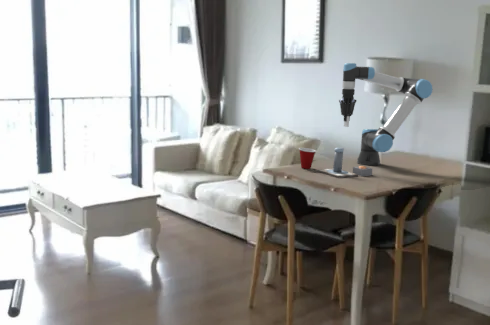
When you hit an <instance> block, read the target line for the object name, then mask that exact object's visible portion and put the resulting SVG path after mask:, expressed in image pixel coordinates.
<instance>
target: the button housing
mask: <svg viewBox="0 0 490 325" xmlns="http://www.w3.org/2000/svg"><path fill="white" fill-rule="evenodd" d="M365 167H366V169H361V168H359V166H353V167H352V173H354V174H357V175H358V177H359V176H360V177H368V176H372V175H373V168H371V167H367V166H365Z"/></svg>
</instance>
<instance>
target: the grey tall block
mask: <svg viewBox="0 0 490 325" xmlns="http://www.w3.org/2000/svg"><path fill="white" fill-rule="evenodd" d="M333 151H334V156H333V165H332V166H333V168H332V169H333V172H338V173H340V172H342V170H343V169H342V168H343V157H344V147H334V150H333Z"/></svg>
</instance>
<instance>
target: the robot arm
mask: <svg viewBox="0 0 490 325" xmlns="http://www.w3.org/2000/svg"><path fill="white" fill-rule="evenodd" d="M356 80H361V81H364V82H368V83H372V84H375V85H378V86H382V87H386V88H389V89H392V90H393V89H394V90H395V91H396V92H399V93H401V94H403V95H405V97H404V98H403V99H402V100H401V101H400V103H399V105H398V106H397V107H396V109H395V110H394V111H393V113H392V114H391V115H390V116H389V118H388V119H387V121H386V122H385V123H384V124H383V126H379V127H378V128H375V129H373V128H369V129H368V128H365V129H363V130H362V132H361V141H360V142H361V144H360V152H359V154H358V157H357V159H356V163H357V164H359V165H362V166H380V165H381V159H380V154H379V153H386V152H388V151H390V150H391V148H392V147H393V144H394V139H395V137H396V136H395V134H396V133H397V132H398V130H399V129H400V128H401V126H402V125H403V123H404V122H405V121H406V120H407V118H408V117H409V115H410V114H411V113H412V112H413V109H415V107H416V106H417V105H418V104H419V105H420V104H422V102H423V100H424V99H428V98H429V97H430V96H431V95H432V93H433V84H432V83H431V81H429V80H428V79H425V78H410V77H409V78H407V77H403V76H399V77H397V76H393V75H389V74H386V73H383V72H378V71H376V70H375V68H374V67H373V66H357V63H355V62H354V63H353V62H352V63H350V62H345V63H344V64H343V74H342V89H341V91H342V92H341V94H342V97H341V99H338V102H339V106H340V114H341V115H342V117H343V127H345V128H348V127H349V126H350V120H351V116H352V115H354V111H355V106H356V103H357V99H355V96H354V95H355V88H356Z"/></svg>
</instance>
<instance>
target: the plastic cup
mask: <svg viewBox="0 0 490 325" xmlns="http://www.w3.org/2000/svg"><path fill="white" fill-rule="evenodd" d="M298 151H299V157H300V158H299V159H300V161H299V162H300V166H301V169H303V168H304V170H311V169H312V164H313V162H314V157H315V154H316V153H317V149H316V150H315V149H313V148H307V147H298Z"/></svg>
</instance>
